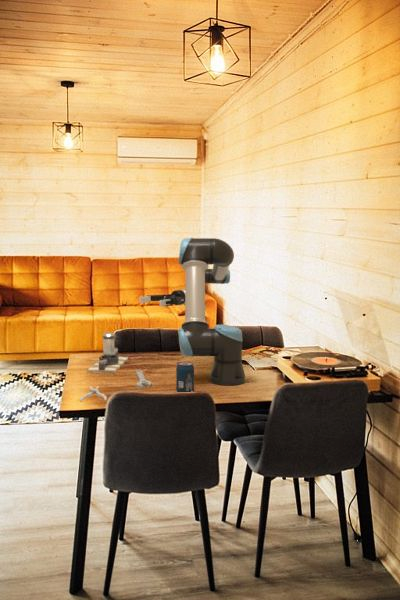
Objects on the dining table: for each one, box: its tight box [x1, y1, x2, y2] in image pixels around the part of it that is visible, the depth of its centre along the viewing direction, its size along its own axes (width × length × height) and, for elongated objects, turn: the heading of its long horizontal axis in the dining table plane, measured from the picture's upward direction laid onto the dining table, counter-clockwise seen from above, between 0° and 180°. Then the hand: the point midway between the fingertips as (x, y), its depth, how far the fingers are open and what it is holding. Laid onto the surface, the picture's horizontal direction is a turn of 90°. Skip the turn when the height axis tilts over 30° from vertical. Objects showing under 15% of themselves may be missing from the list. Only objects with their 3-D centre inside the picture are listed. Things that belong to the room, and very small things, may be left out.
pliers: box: [79, 385, 108, 403], centre depth 222 cm, size 10×2×15 cm
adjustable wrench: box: [135, 369, 153, 389], centre depth 244 cm, size 25×6×2 cm, turn 8°
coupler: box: [102, 331, 115, 359], centre depth 264 cm, size 5×5×14 cm
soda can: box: [175, 361, 195, 393], centre depth 225 cm, size 7×7×12 cm
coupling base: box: [86, 347, 130, 375], centre depth 265 cm, size 26×12×5 cm, turn 173°
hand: (149, 301), depth 273 cm, fingers open, 13 cm apart
